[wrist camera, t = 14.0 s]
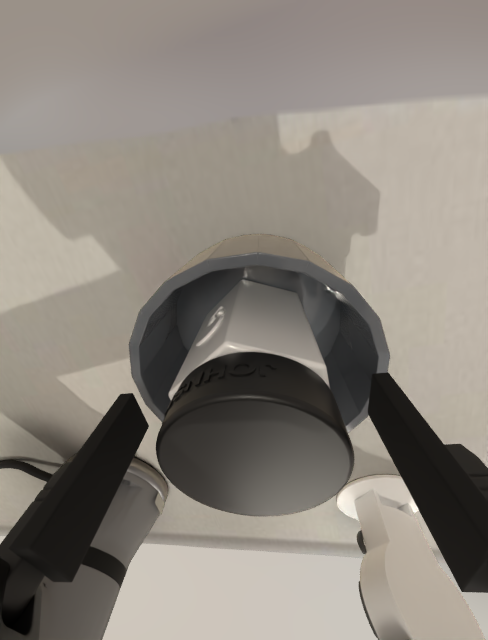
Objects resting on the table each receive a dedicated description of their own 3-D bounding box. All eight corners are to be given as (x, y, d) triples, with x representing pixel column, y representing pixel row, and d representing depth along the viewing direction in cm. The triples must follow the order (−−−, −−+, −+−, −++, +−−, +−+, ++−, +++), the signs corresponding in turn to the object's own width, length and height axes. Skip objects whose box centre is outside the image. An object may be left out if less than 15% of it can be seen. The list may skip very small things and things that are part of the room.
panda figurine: (316, 501, 33) (352, 702, 20) (372, 462, 28) (470, 693, 15) (381, 526, 35) (454, 724, 22) (444, 493, 30) (587, 724, 17)
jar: (260, 255, 17) (258, 343, 7) (328, 324, 19) (409, 472, 9) (189, 328, 21) (111, 464, 10) (254, 379, 23) (247, 536, 12)
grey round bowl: (196, 392, 25) (172, 461, 18) (148, 249, 18) (83, 277, 12) (341, 382, 23) (374, 456, 16) (349, 218, 16) (410, 229, 10)
